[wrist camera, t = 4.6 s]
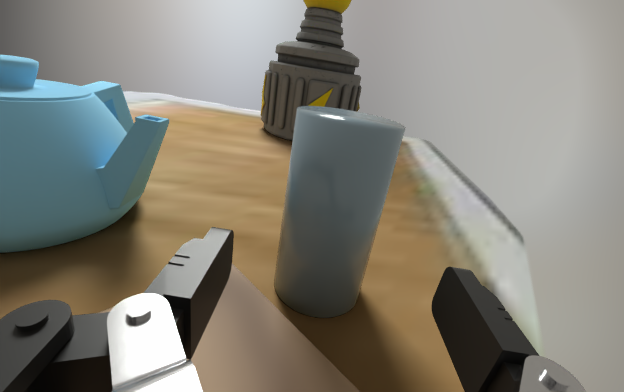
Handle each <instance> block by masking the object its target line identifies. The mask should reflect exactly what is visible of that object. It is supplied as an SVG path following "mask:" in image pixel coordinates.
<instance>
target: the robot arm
mask: <svg viewBox="0 0 624 392" xmlns="http://www.w3.org/2000/svg"><path fill="white" fill-rule="evenodd" d="M233 238H234V233H233V230H228V229H222V228H216V227H212V228H211V229H210V230H209V232H208V233H207V234H206V236H205V237H204V239H198V238H194V239H192V240H190V241H189V242H187V243H185V244H183V245H182V246H181V248H180V249H179V250H178V251H177V252H176V254H175V256H173V257H172V259H171V260H170V261H169V263H168V264H167V265H166V266H165V267H164V268H163V270H162V271H161V272H160V273H159V274H158V276H157V277H156V278H155V279H154V281H153V282H152V283H151V284H150V285H149V287H148V288H147V289H146V290H145V292H144V293H143V294H138V295H134V296H131V297H129V298H126V299H124V300H123V301H121V302H119V303H118V304H117V305H116V306H115V307H113V309H112V310H111V311H110V312H104V313H95V314H84V315H73V316H72V312H71V309H70V306H69V305H68V304H66V303H65V302H62V301H58V300H44V301H38V302H34V303H30V304H27V305H25V306H22V307H20V308H18V309H16V310H14V311H12V312H10V313H9V314H7V315H6V316H4V317H3V318H2V319H0V392H203V391H202V388H201V385H200V382H199V379H198V376H197V373H196V370H195V367H194V365H193V363H192V361H191V359H192V357H193V354H194V352H195V350H196V348H197V346H198V344H199V342H200V340H201V337H202V335H203V333H204V331H205V329H206V327H207V325H208V322H209V320H210V318H211V316H212V314H213V312H214V310H215V308H216V305H217V303H218V301H219V299H220V297H221V295H222V293H223V290H224V288H225V286H226V284H227V282H228V279H229V276H230V272H231V267H232V254H233ZM432 314H433V317H434V319H435V322H436V324H437V326H438V329H439V331H440V334H441V336H442V338H443V341H444V343H445V346H446V348H447V350H448V353H449V355H450V358H451V360H452V362H453V365H454V367H455V370H456V372H457V374H458V377H459V379H460V382H461V384H462V386H463V389H464V391H465V392H586V391H585V389H584V387H583V386H582V385H581V384H580V382H579V381H578V380H577V379H576V378H575V377H574V376H573V375H572V374H571V373H570V372H569V371H567V370H566V369H565V368H563V367H562V366H561V365H559V364H557V363H556V362H554V361H552V360H550V359H547V358H545V357H542V356H539V355H538V353H537V352H536V350H535V349H534V348H533V346H532V345H531V344H530V342H529V341H528V339H527V338H526V337H525V335H524V334H523V333H522V331H521V330H520V328H519V327H518V326H517V324H516V323H515V322H514V321H512V317H511V316H510V315H509V313H508V312H507V311H505V308H504V306H503V305H502V304H501V302H500V301H499V299H498V298H497V297H496V296H495V295H494V294H493V293H491V292H490V291H489V290H488V289H487V288H486V287H484V286H482V285H481V284H480V282H479V281H478V279H477V278H476V277H475V275H474V274H473V272H472V271H470V270H466V269H460V268H454V267H447V268H446V269H445V271H444V273H443V276H442V278H441V280H440V283H439V285H438V288H437V290H436V292H435V295H434V297H433V300H432ZM187 359H189V360H187Z"/></svg>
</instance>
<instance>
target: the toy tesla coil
mask: <svg viewBox="0 0 624 392" xmlns="http://www.w3.org/2000/svg"><path fill="white" fill-rule="evenodd" d="M304 2H305V4H306V6H307V8H308V9H306V12H305V20H303V21H302V23H301V26H300V27H301V32H299V33H298V34H297V37H296V39H297V40H298V41H295V42H294V41H293V42H283V43H280V44H278V45H277V47H276V53H278V61H270V64H269V70H267V71H266V72H265V79H264V86H263V91H262V109H261V116H262V118H261V119H262V121H263V122H264V128H265V129H266V130H267V131H268V132H269V133H271V134H273V135H275V136H277V137H280V138H283V139H286V140H291V141H293V134H294V127H295V119H296V111H297V108H298V107H301V106H321V107H331V108H338V109H345V110H351V111H356V112H357V111H358V110H359V97H360V93H361V86H359V85H360V80H361V77H360V76H359V75H354V71H355V67H358V66H359V59H358V58H357V57H356V56H355V55H353V54H352V53H350V52H348V51H345V50H342V49H341V48H342V47H344V44H343V40H341V35H342V34H343V28H342V27H341V23H342V15H341V14H342V13H343V12H344V11H345V10H346V9H347V8H348V6H349V4H350V2H351V0H304Z"/></svg>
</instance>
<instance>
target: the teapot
mask: <svg viewBox="0 0 624 392" xmlns="http://www.w3.org/2000/svg"><path fill="white" fill-rule="evenodd" d="M38 66H39V62H37V61H35V60H32V59H28V58H23V57H16V56H9V55H0V253H7V252H18V251H27V250H34V249H40V248H45V247H50V246H55V245H59V244H63V243H67V242H71V241H74V240H77V239H80V238H83V237H86V236H88V235H91V234H94V233H96V232H98V231H100V230H102V229H104V228H106V227H108V226H110V225H112V224H113V223H115V222H116V221H117V220H119V219H120V218H121V217H122V216H123V215H124V214H125V213H126V212H128V211H129V210H130V209H131V208H132V206H133V205H134V204H135V203H136V202H137V201H138V199H139V198H140V197H141V195H142V193H143V192H144V189H145V187H146V184H147V181H148V179H149V176H150V173H151V170H152V168H153V165H154V162H155V160H156V157H157V154H158V151H159V149H160V146H161V143H162V141H163V138H164V135H165V132H166V130H167V127H168V124H169V119H166V118H161V117H156V116H151V115H142V116H138V117H135V121H136V122H135V123H133V120H132V117H131V114H130V111H129V108H128V106H127V103H126V100H125V97H124V94H123V91H122V88H121V85H120V84H114V83H109V82H105V81H99V82H95V83H92V84H88V85H84V86H77V85H72V84H67V83H61V82H54V81H47V80H38V79H36V76H37V72H38Z"/></svg>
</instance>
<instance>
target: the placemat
mask: <svg viewBox="0 0 624 392" xmlns="http://www.w3.org/2000/svg"><path fill="white" fill-rule="evenodd" d="M112 309H113V307H112V308H109V309H107V310H104V311H101V312H99V313H104V312H110V311H111V310H112ZM187 360H189V359H187ZM191 361H192V363H193V365H194V367H195V370H196V373H197V376H198V379H199V382H200V385H201V388H202V391H203V392H360V391H359V390H358V389H357V388H356V387H355V386H354V385H353V384H352V383H351V382H350V381H349V380H348V379H347V378H346V377H345V376H344V375H343V374H342V373H341V372H340V371H339V370H338V369H337V368H336V367H335V366H334V365H333V364H332V363H331V362H330V361H329V360H328V359H327V358H326V357H325V356H324V355H323V354H322V353H321V352H320V351H319V350H318V349H317V348H316V347H315V346H314V345H313V344H312V343H311V342H310V341H309V340H308V339H307V338H306V337H305V336H304V335H303V334H302V333H301V332H300V331H299V330H298V329H297V328H296V327H295V326H294V325H293V324H292V323H291V322H290V321H289V320H288V319H287V318H286V317H285V316H284V315H283V314H282V313H281V312H280V311H279V310H278V309H277V308H276V307H275V306H274V305H273V304H272V303H271V302H270V301H269V300H268V299H267V298H266V297H265V296H264V295H263V294H262V293H261V292H260V291H259V290H258V289H257V288H256V287H255V286H254V285H253V284H252V283H251V282H250V281H249V280H248V279H247V278H246V277H245V276H244V275H243V274H242V273H241V272H240V271H239V270H238V269H237V268H236V267H235V266H234V265H233V264H232V267H231V272H230V276H229V279H228V282H227V284H226V286H225V288H224V290H223V293H222V295H221V297H220V299H219V301H218V303H217V305H216V308H215V310H214V312H213V314H212V316H211V318H210V320H209V322H208V325H207V327H206V329H205V331H204V333H203V335H202V337H201V340H200V342H199V344H198V346H197V348H196V350H195V352H194V354H193V357H192V359H191Z"/></svg>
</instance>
